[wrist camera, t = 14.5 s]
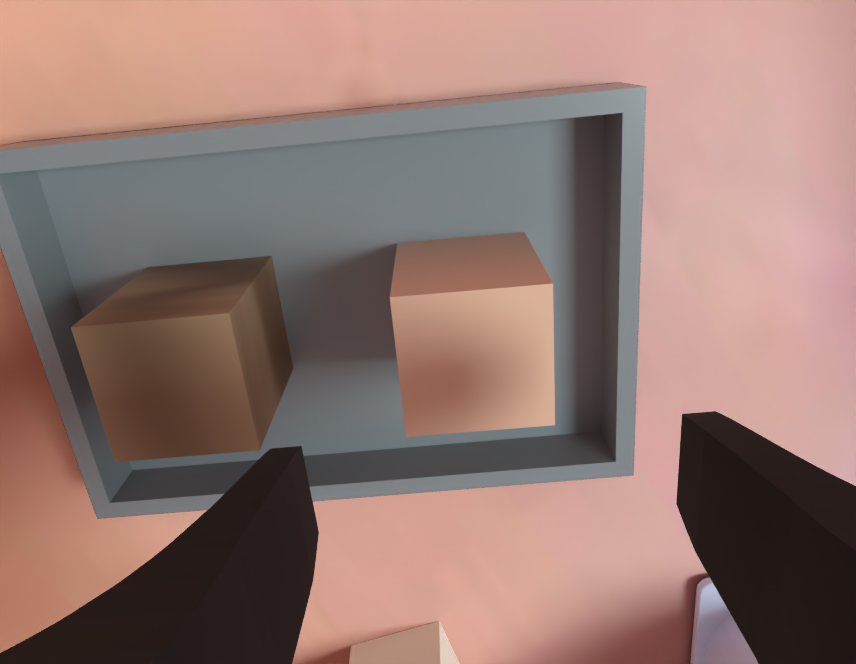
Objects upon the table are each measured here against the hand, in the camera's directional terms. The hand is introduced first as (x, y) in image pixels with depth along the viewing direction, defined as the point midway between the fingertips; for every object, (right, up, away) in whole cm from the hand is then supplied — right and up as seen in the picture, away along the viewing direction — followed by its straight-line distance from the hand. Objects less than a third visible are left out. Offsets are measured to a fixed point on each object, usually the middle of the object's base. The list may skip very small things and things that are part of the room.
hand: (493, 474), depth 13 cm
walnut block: (-8, +3, +9) cm, 13 cm away
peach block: (0, +4, +9) cm, 10 cm away
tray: (-4, +4, +10) cm, 11 cm away
